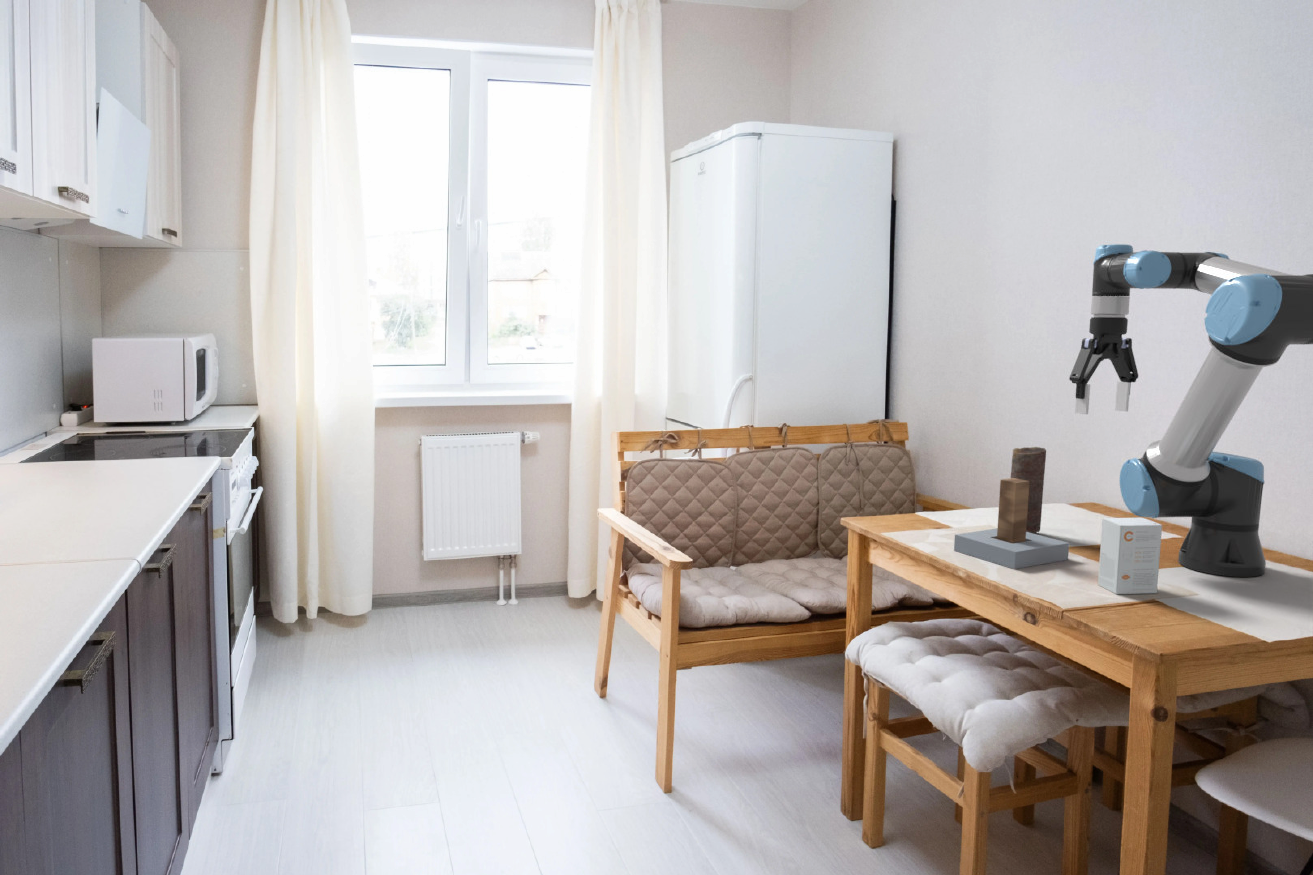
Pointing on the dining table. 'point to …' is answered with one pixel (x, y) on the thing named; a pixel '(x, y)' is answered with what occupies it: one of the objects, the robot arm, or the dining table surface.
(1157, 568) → the small box
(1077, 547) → the dining table surface
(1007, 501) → the peg
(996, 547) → the socket
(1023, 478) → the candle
